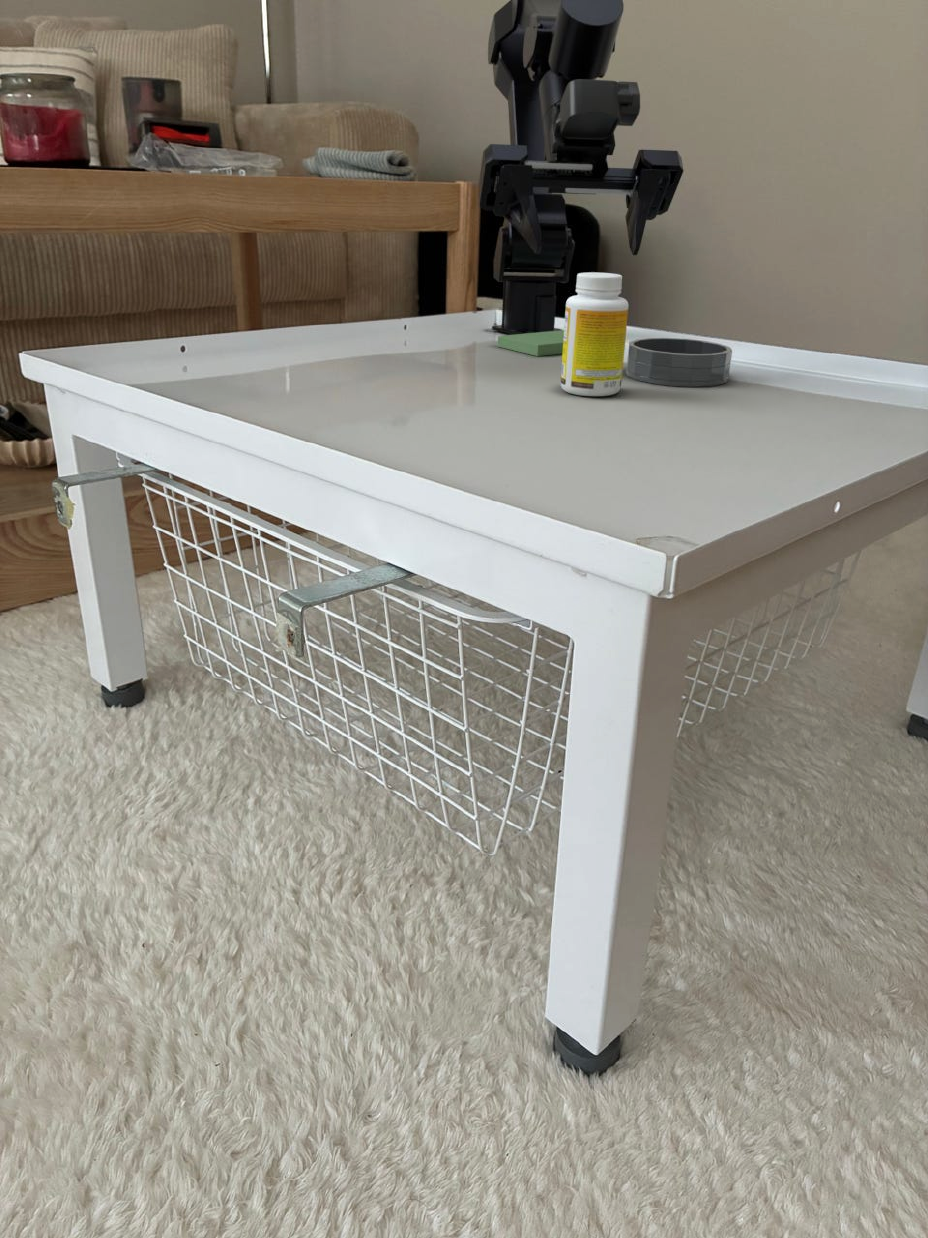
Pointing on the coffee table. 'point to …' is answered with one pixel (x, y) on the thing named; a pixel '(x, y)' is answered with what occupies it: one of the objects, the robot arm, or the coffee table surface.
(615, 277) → the supplement bottle
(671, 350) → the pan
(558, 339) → the green rectangular slab
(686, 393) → the coffee table surface
